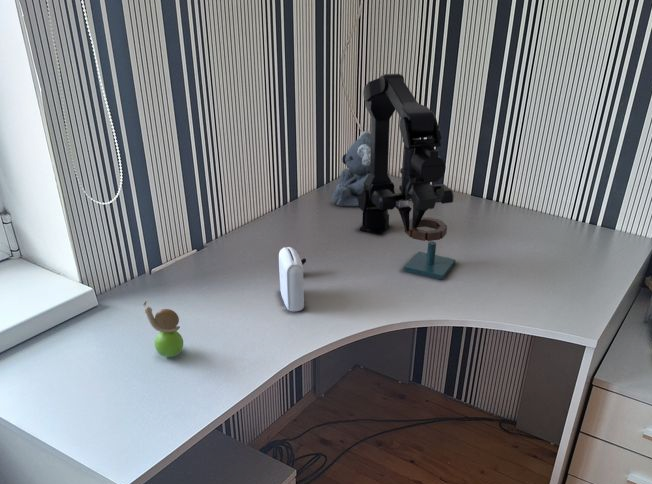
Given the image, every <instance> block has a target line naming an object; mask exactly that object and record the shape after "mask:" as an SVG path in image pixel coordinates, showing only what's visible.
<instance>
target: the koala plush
mask: <svg viewBox="0 0 652 484" xmlns="http://www.w3.org/2000/svg"><path fill="white" fill-rule="evenodd" d="M370 158H371V131H369V130H368V129H366V130H365V131H362V132H361V133H360V135H359V136H358V139H356V140H355V141H354V142H353V143H352V144H351V145H350V147H349V148H348V150H347V151H346V153H344V154H343V155H342V159H341V160H342V161H341V162H342V164H344V165H345V166H346V167H347V168H344V169H342V171H341V173H340V176H339V179H338V183H337V185H336V187H335V188H334V190H333V194H332V197H331V200H332V203H333V205H336V206H339V207H348V208H349V207H359V206H358V198H359V196H360V194H361V192H362V191H363V189H364V181H365V180H366V178H367V177H368V175H369V174H370Z"/></svg>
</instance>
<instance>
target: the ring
mask: <svg viewBox="0 0 652 484" xmlns="http://www.w3.org/2000/svg"><path fill="white" fill-rule="evenodd" d="M412 220H413V217H412V218H409V231H406V230H405V229H404V233H405V234H406V235H407V236H408V237H409V238H411V239H414V240H417V241H422V242H426V241H427V242H430V241H433V242H434V241H440V240H442V239H443V238H444V237H446V235H447V234H448V233H447V232H448V225H447V224H446V223H445V222H444V221H443V220H442V219H441V220H440V219H439V218H434V217H429V216H426V217H425V216H423V217H422V219H421V221H420V223H419V225H418V227H417V229H416V228H415V227H414V226H413V225H412ZM420 228H428V229H429V228H430V229H431V230H424V229H420Z"/></svg>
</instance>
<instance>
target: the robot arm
mask: <svg viewBox="0 0 652 484" xmlns="http://www.w3.org/2000/svg"><path fill="white" fill-rule="evenodd" d="M362 95H363V100H364V106H365V108H366V110H367V112H368V114H369V115H370V132H371V158H370V174H369V175H368V177H367V178H366V180H365V181H364V189H363V191H362V192H361V194H360V196H359V198H358V206H357V207H358V208H359V209H360V210H361V211H362V223H361V226H360V227H359V231H361V232H366V233H370V234H375V235H380V236H381V235H382V234H384V233H385V232H386V231H387V230H388V228H390V214H389V210H394V209H395V208H396V209H397V211H398V213H399V216H400V218H401V221H402V224H403V227H404V231H405V230H406V231H409V220H410V216H411V215H410V213H411V212H412V218H413V220H412V225H413V226H414V227H415V228H416V229H418V228H419V227H418V225H419V223H420V221H421V219H422V217H424V215H425V213H426V211H428V210H433V209H434V208H435V207H436V203H441V204H443V205H444V204H452V203H454V198H455V195H454V191H453V190H452V189H451V188H450V187H449V186H447V185H446V184H445V183H437V184H431V183H436V182H438V181H440V179H442V178H443V177H444V175H445V173H446V168H447V167H446V164H445V161H444V160H443V158H442V157H440V156H439V150H438V149H436V148H439V147H441V145H442V143H441V140H442V134H441V131H440V126H439V124H438V120H437V117H436V115H435V114H434V112H433V111H432V110H431V109H430V108H429V107H428V106H426V105H423V104H421V103H419V102H418V101H417V99H416V97H415V96H414V95H413V93H412V91H411V90H410V88H409V87H408V85H407V84H406V82H405V77H404V75H403V74H400V73H384V74H381V75H380V77H377V78H376V79H372V80H370V81H368V82H367V84H365V85H364V87H363V93H362ZM395 112H397V114H398V116H399V118H400V119H399V124H398V127H399V131H400V134H401V138H402V143H403V158H402V167H400V169H399V170H400V171H399V173H400V174H401V185H400V184H399V187H398V190H399V191H400V193H399V192H398V193H396V191H395V184H394V182H393V181H392V180H391V178H390V176H389V156H390V155H389V153H390V152H389V150H390V126H391V125H390V123H391V122H390V121H391V117H392V116H393V114H394V113H395ZM431 137H432V138H431ZM410 202H412V207H411V206H410ZM417 227H418V228H417Z"/></svg>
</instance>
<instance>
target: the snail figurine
mask: <svg viewBox="0 0 652 484" xmlns="http://www.w3.org/2000/svg"><path fill="white" fill-rule="evenodd" d="M142 305H143V306H144V309H143V310H144V313H145V314H146V317H147V320H148V322H149V324H150V326H151V327H152V329H154V330H155V331H157V332H159V333H157V335H156V336H155V338H154V347H155V350H156V351H157V353H158V354H159V355H161V356H163V357H167V358H172V357H175V356H177V355H179V354H180V353H181V351H183V348H184V339H183V337H182V335H181V333H180V332H178V331H179V329H181V326H180V325H179V323H180V317H179V315H178V313H176V312H175V310H172V309H171V308H162V309H160V310H158V311H157V312H156V313H155V315H153V309H152V307H150V306H147V301H146V300H144V301H143V304H142Z"/></svg>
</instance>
